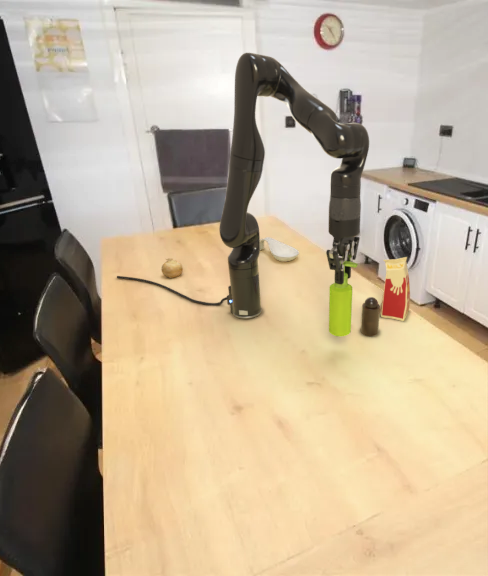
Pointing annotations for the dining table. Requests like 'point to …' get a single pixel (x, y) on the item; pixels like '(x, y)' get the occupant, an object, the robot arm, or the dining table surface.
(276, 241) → the spoon rest
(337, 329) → the soap dispenser
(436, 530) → the dining table surface
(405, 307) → the red cream snack bag
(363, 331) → the pepper mill
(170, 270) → the onion
